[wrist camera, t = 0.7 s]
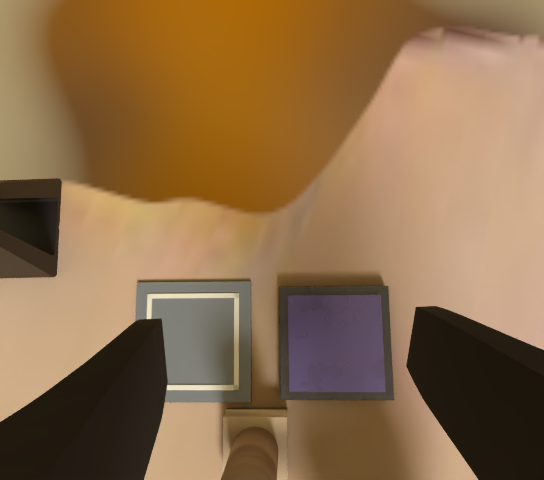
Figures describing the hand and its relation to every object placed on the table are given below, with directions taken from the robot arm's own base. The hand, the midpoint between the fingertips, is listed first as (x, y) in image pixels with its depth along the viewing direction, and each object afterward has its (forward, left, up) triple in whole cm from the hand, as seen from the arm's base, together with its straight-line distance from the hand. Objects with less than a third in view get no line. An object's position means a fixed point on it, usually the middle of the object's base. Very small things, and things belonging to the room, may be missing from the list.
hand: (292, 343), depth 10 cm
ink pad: (-3, -4, -20) cm, 21 cm away
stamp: (-11, +3, -20) cm, 23 cm away
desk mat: (-3, +8, -20) cm, 22 cm away
